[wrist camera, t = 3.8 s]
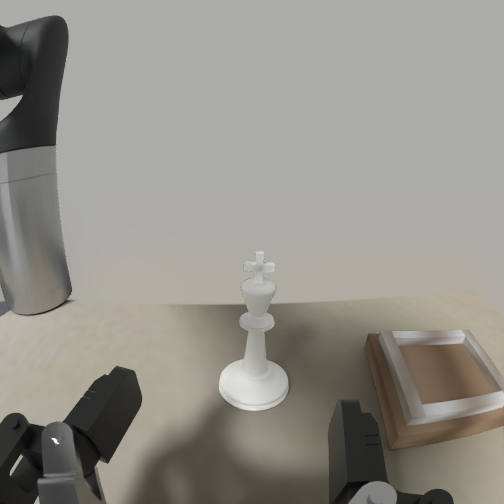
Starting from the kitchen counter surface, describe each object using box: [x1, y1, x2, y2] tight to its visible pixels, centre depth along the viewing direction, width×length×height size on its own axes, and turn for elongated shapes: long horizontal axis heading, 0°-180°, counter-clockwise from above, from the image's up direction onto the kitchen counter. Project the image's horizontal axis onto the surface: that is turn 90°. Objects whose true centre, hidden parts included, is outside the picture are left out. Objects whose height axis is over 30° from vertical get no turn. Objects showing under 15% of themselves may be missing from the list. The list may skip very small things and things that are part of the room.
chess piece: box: [219, 251, 289, 411], centre depth 18 cm, size 5×5×10 cm
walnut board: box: [365, 330, 504, 450], centre depth 17 cm, size 11×11×2 cm
